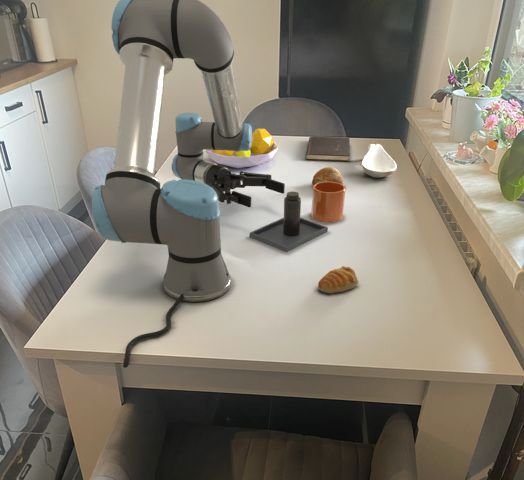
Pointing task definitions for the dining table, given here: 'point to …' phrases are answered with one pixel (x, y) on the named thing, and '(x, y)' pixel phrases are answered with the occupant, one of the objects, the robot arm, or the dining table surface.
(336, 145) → the hardcover book
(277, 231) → the tray
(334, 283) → the pastry
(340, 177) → the bread roll
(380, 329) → the dining table surface
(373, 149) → the spoon rest
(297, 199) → the pepper mill
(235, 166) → the fruit bowl
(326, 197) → the pot
